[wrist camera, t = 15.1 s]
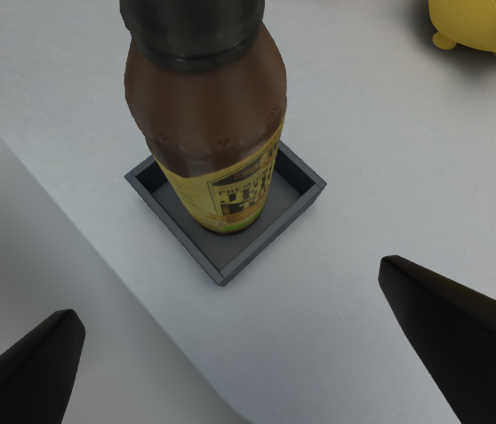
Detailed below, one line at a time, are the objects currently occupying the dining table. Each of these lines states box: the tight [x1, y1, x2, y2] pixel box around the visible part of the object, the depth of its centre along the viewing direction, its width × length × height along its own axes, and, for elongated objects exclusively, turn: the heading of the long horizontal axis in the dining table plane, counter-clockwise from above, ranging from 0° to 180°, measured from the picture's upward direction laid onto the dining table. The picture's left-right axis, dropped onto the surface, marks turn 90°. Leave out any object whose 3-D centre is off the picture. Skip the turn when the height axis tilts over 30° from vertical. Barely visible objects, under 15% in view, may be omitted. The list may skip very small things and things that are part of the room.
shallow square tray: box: [124, 140, 327, 287], centre depth 21 cm, size 10×10×4 cm
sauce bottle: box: [119, 0, 287, 235], centre depth 13 cm, size 6×6×20 cm
